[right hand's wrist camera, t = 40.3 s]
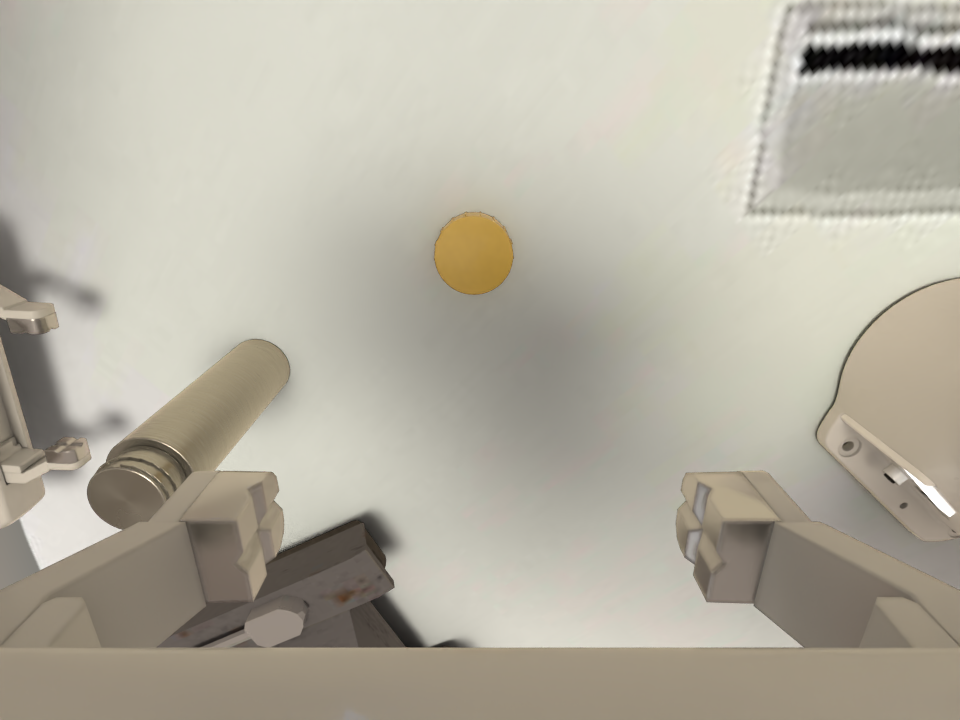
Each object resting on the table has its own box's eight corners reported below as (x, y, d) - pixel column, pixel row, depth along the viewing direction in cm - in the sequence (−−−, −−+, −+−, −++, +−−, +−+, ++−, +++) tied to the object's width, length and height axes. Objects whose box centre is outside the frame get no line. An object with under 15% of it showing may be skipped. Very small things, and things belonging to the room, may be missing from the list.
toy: (377, 505, 43) (329, 675, 30) (489, 661, 50) (492, 860, 36) (136, 613, 48) (-5, 804, 34) (268, 743, 54) (195, 948, 41)
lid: (480, 194, 35) (480, 197, 33) (527, 256, 36) (530, 263, 34) (420, 243, 36) (416, 249, 34) (468, 301, 37) (467, 310, 35)
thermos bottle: (288, 397, 40) (175, 545, 25) (229, 388, 40) (81, 531, 25) (291, 344, 38) (173, 469, 24) (230, 334, 38) (72, 453, 23)
